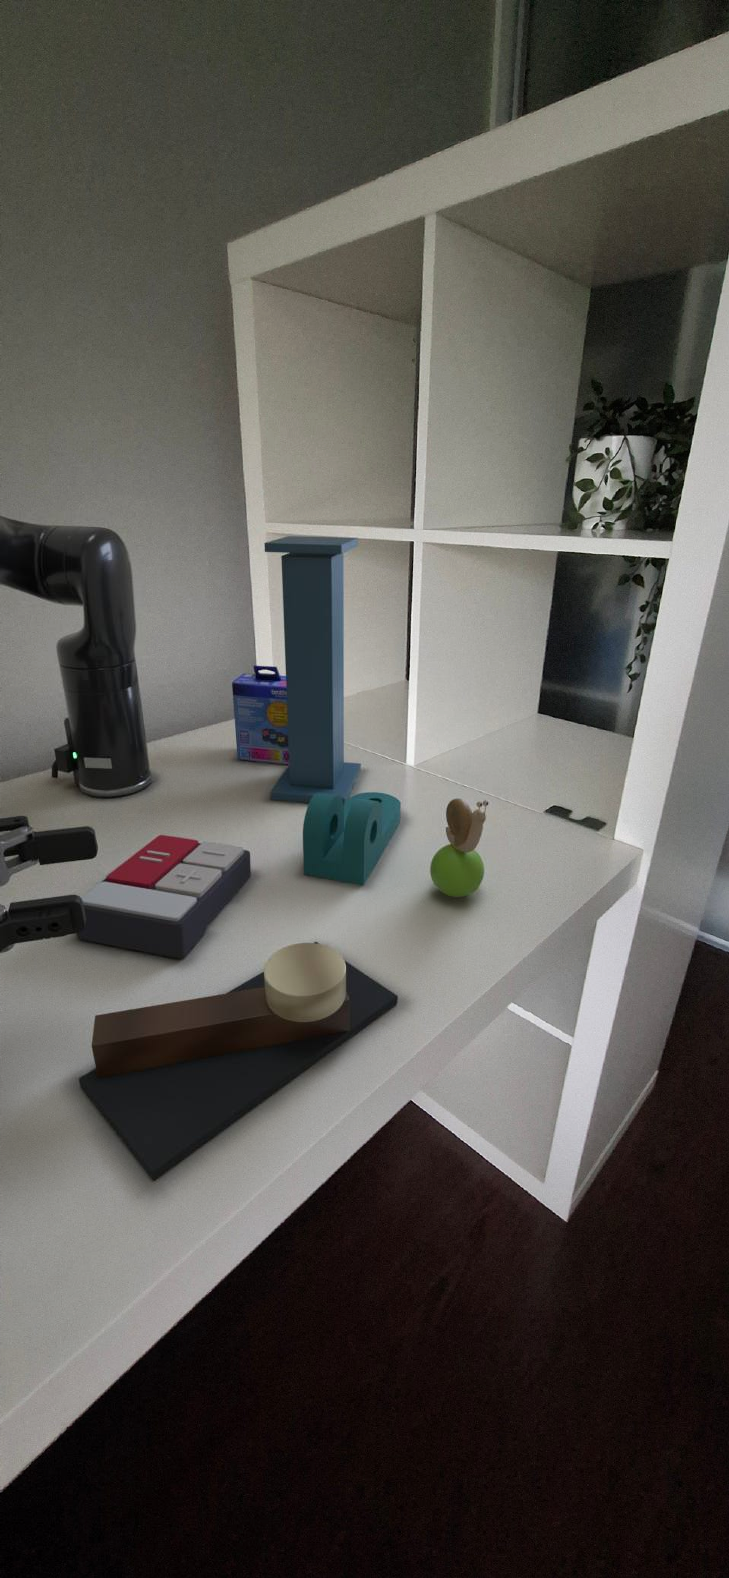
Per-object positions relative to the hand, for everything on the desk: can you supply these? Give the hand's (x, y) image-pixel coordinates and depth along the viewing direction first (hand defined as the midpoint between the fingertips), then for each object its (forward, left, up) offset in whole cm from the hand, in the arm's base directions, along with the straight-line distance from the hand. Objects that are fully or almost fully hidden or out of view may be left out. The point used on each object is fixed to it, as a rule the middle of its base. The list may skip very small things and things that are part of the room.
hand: (90, 874), depth 43 cm
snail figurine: (+15, +32, -16) cm, 39 cm away
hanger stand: (-11, +50, -16) cm, 54 cm away
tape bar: (+6, +5, -15) cm, 17 cm away
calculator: (-10, +18, -16) cm, 26 cm away
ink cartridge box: (-22, +56, -16) cm, 62 cm away
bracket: (+1, +38, -16) cm, 41 cm away
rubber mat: (+7, +6, -16) cm, 18 cm away
